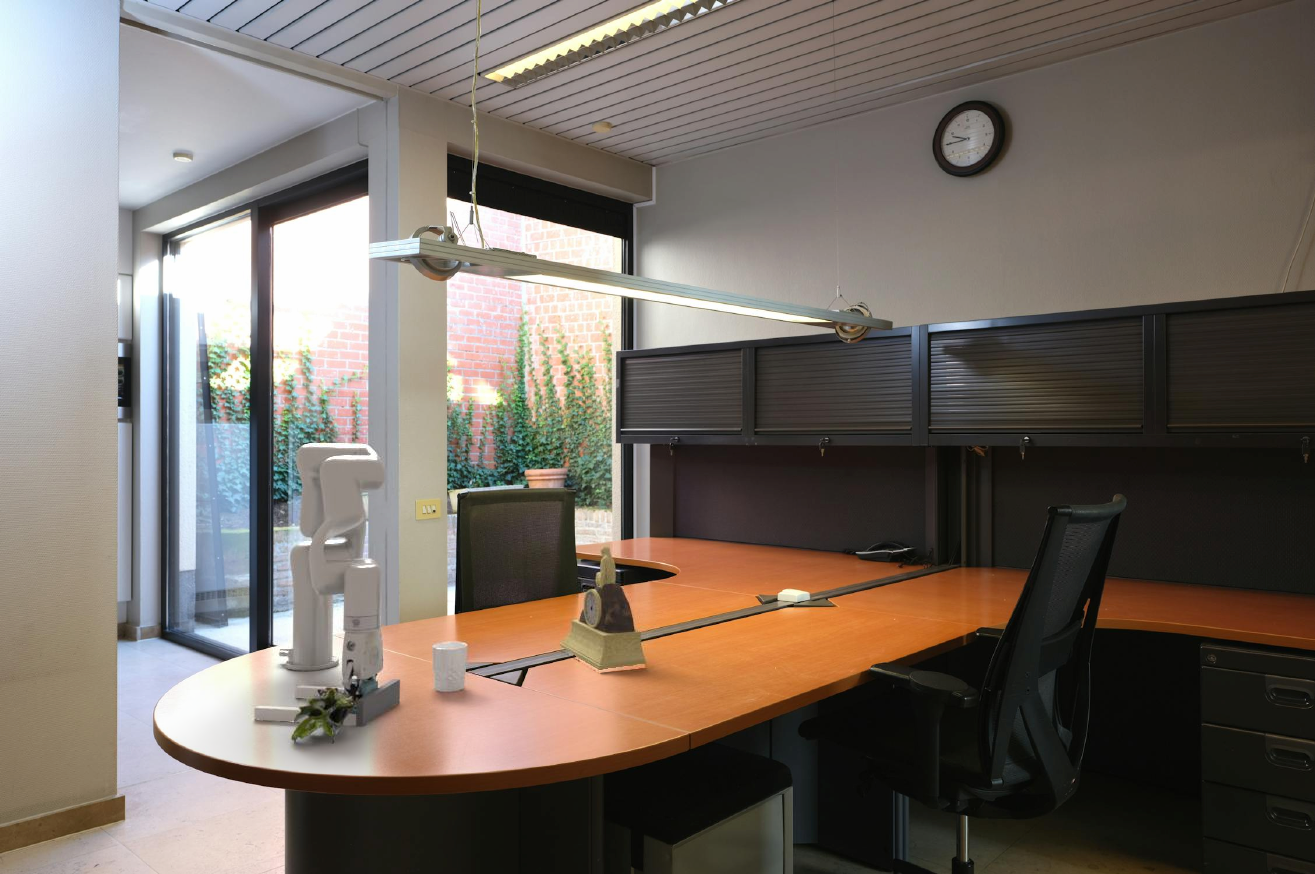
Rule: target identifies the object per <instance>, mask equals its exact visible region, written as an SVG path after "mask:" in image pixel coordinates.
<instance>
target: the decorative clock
mask: <svg viewBox="0 0 1315 874" xmlns="http://www.w3.org/2000/svg"><path fill="white" fill-rule="evenodd" d="M600 554H601V557H602V558H601V560H600V564H599V568H600V571H599V572H596V575H595V584H596V587H595V588H594V589H593V588H591V589H588V590H587V591H586V592H585V595H584V598H583V609H582V610H581V611H580V616H579V618H578V619H571V626H570V631H569V633H568V634H567V636H566V637H565V638H564V639H562V641H561V642H559V643H558V644H559V645H558V647H559V646H561V647H562V648H564V649H566V650H568V651H569V652H571V653H573V655H575V656H576V657H578V658H579V659H581V660H583V661H585V662H586V663H588V664H590V665H591V666H593V667H595V668H597V669H598V670H603V669H608V668H616V667H623V666H633V665H637V664H645V663H646V664H647V661H646V657H645V655H644V652H643V646H642V632H641V631H640V630H638V629H636V628H635V623H634V617H633V613H632V610H631V605H630V602H629V600H628V598H627V597H626V594H625V591H624V588H623V587H622V586H621V585H619V584H618V583H616V579H617V578H616V573H617V570H616V564H615V559H614V558H613V556H612V554H611V550H610V547H609V546H608V545H603V546H602V547H601V548H600Z"/></svg>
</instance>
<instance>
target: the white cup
mask: <svg viewBox="0 0 1315 874" xmlns="http://www.w3.org/2000/svg"><path fill="white" fill-rule="evenodd" d="M431 648H432V668H433V669H432V670H433V678H434V679H433V682H434V683H433V687H434V690H435V691H437V692H442V693H453V691H454V692H458V691H461V689H462V690H463V689H464V688H465V679H466V674H467V673H466V672H467V671H466V670H467V655H468V644H467V643H466V642H464V641H463V642H461V641H442V642H437V643H434V644H433V645H432V647H431Z"/></svg>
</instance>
